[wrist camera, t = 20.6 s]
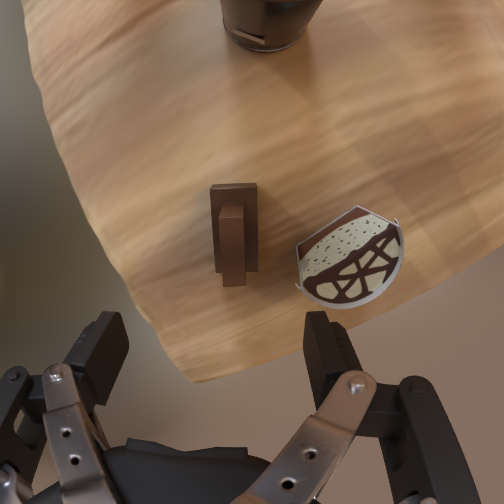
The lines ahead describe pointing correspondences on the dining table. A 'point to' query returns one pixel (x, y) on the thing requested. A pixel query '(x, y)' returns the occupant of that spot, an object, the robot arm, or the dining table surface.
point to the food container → (350, 259)
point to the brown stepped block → (235, 231)
